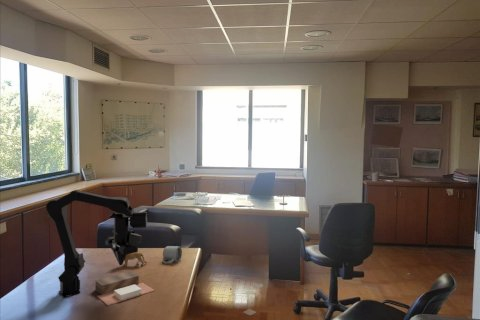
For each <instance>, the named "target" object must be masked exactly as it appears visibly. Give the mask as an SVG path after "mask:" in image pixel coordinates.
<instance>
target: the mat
mask: <svg viewBox="0 0 480 320" xmlns="http://www.w3.org/2000/svg"><path fill="white" fill-rule="evenodd" d="M137 286H138V287H140V288H141V289H142V294H139V295H136V296H133V297H129V298H126V299H123V300H120V299H118V298H117V297H116V296H115V295H114V291H113V292H110V293H106V294H103V295H101V294H100V295H97V298H98V299H99V300H100V301H102V302H103V303H104V304H105V305H106V306H112V305H114V304H117V303H120V302H124V301H126V300H130V299H133V298H137V297H140V296H142V295H146V294H149V293H151V292H155V289H153V288H152V287H150V286H149V285H147V284H145V283H144V282H141V283H139V284H137Z"/></svg>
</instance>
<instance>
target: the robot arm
mask: <svg viewBox="0 0 480 320" xmlns="http://www.w3.org/2000/svg"><path fill="white" fill-rule="evenodd" d="M76 201H77V202H82V203H87V204H90V205H95V206H100V207H102V208H103V207H104V208H106V209H108V210H110V211H112V214H110V215H109V216H108V219H114V220H113V224H114V225H113V229H112V234H113V236H108V237H106V239H105V242H104V243H105V245H106V246H110V245H111V244H112V247H111V248H110V249H111V252H112V253H113V255H114V257H115V258H116V261H117V264H118V265H119V266H122V265H123V266H124V263H125V260H124V259H125V256H126V254H131V253H136V252H139V246H137V245H136V244H134V243H137V244H140V243H141V241H142V238H143V236H142V235H140V234H138V233H136V231H135V230H133V229H147V227H148V216H147V215H148V214H147V211H135V210H134V209H133V207H132V206H131V203H130V200H129V198H127V197H121V196H105V195H101V194H97V193H93V192H88V191H83V190H80V189H74V190H72V191H70V193H68V194H65V195H64V196H62V197H56V198H53V199H52V200H50V201H48V202H47V203H46V205H45V209H46V212H47V214H48V216H49V218H50V219H51V220H52V221H53V222H54V223H55V229H56V231H57V235H58V237H59V241H60V244H61V248H62V251H63V254H64V259H63V260H64V261H63V267H64V271H63V272H62V273H61V274H59V276H58V281H59V290H58V294H59V295H61V296H62V298H66V297H70V296H73V295H78V294H80V293H81V291H80V290H81V279H80V277H79V276H78V275H79V274H81V271H82V270H83V269H84V267H85V263H86V260H85V258H84V254H83V252H81V253H79V252H78V250H77V249H76V245H75V241H74V239H73V235H72V232H71V228H70V224H69V222H68V221H69V220H68V205H69V204H70V205H71V204H72V203H73V202H76ZM129 226H130V227H131V228H132V229H129V228H130V227H129ZM132 242H134V243H132Z"/></svg>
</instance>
